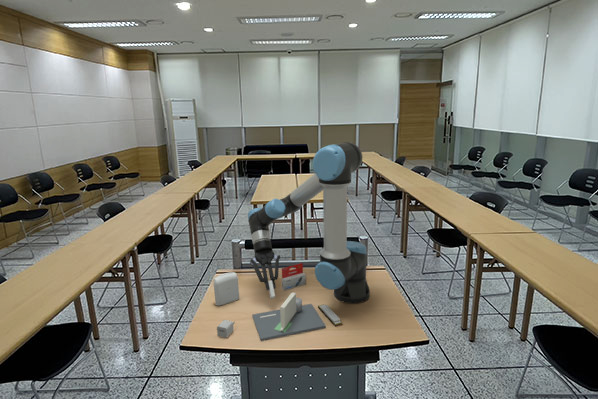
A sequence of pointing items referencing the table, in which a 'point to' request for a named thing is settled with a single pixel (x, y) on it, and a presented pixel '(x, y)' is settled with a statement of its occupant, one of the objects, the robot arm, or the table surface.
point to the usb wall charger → (225, 328)
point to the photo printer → (226, 288)
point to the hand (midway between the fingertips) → (272, 297)
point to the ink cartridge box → (293, 277)
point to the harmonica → (330, 315)
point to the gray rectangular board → (300, 323)
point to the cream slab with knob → (289, 309)
